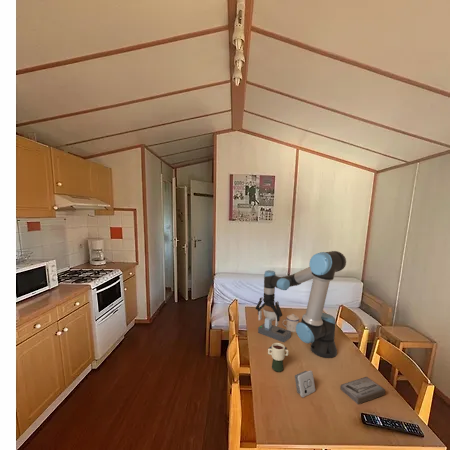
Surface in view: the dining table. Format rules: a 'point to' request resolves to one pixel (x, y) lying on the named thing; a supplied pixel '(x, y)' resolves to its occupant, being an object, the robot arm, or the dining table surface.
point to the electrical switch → (305, 383)
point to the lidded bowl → (269, 312)
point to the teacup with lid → (291, 322)
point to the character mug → (278, 356)
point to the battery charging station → (275, 332)
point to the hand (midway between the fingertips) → (268, 322)
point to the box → (362, 390)
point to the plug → (268, 323)
